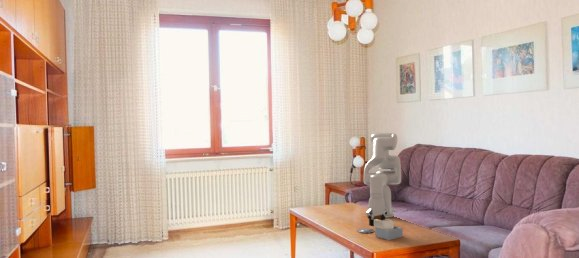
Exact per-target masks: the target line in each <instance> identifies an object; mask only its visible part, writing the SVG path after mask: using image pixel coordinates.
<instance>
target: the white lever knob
mask: <svg viewBox="0 0 579 258" xmlns="http://www.w3.org/2000/svg"><path fill="white" fill-rule="evenodd" d="M394 224H395V223H394V220H393V219H389V218H385V220H378V219H375V220H374V226H373V230H375V228H381V229H385V230H392V229H394V226H395V225H394Z"/></svg>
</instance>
